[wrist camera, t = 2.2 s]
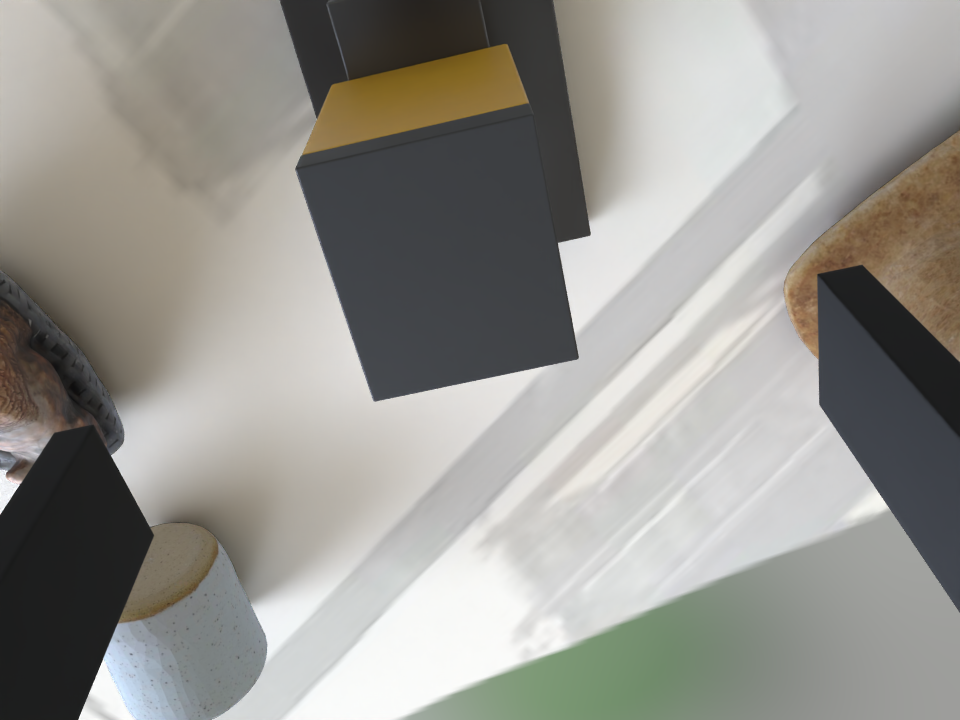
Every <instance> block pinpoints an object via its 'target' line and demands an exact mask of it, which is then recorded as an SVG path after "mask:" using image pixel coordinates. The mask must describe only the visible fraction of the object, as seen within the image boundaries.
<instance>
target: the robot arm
mask: <svg viewBox="0 0 960 720" xmlns="http://www.w3.org/2000/svg"><path fill="white" fill-rule="evenodd" d="M817 294H818V351H819V405H820V406H821V408H822V409H823V411H824V412H825V414H826V415H827V416H828V418H829V419H830V421H831V422H832V424H833V425H834V427H835V428H836V430H837V431H838V433H839V434H840V436H841V437H842V439H843V440H844V442H845V443H846V445H847V446H848V448H849V449H850V451H851V452H852V454H853V455H854V456H855V458H856V459H857V461H858V462H859V464H860V465H861V467H862V468H863V470H864V471H865V473H866V474H867V476H868V477H869V479H870V480H871V482H872V483H873V485H874V486H875V488H876V489H877V491H878V492H879V494H880V495H881V496H882V498H883V499H884V501H885V502H886V504H887V505H888V507H889V508H890V510H891V511H892V513H893V514H894V516H895V517H896V519H897V520H898V521H899V523H900V524H901V526H902V527H903V529H904V531H905V532H906V534H907V535H908V536H909V538H910V539H911V541H912V542H913V544H914V545H915V547H916V548H917V550H918V551H919V553H920V554H921V556H922V557H923V559H924V560H925V562H926V563H927V565H928V566H929V568H930V569H931V571H932V572H933V573H934V575H935V576H936V578H937V579H938V581H939V582H940V583H941V585H942V587H943V588H944V590H945V591H946V593H947V594H948V596H949V597H950V599H951V600H952V602H953V603H954V605H955V606H956V608H957V609H958V610H959V612H960V362H959V361H958V360H957V359H956V358H955V357H954V356H953V355H952V354H951V353H950V352H949V351H948V350H947V349H946V348H945V347H944V346H943V345H942V344H941V343H940V342H939V341H938V340H937V339H936V338H935V337H934V336H933V335H932V334H931V333H930V332H929V331H928V330H927V329H926V328H925V327H924V326H923V325H922V324H921V323H920V322H919V321H918V320H917V319H916V318H915V317H914V316H913V315H912V314H911V313H910V312H909V311H908V310H907V309H906V308H905V307H904V306H903V305H902V304H901V303H900V302H899V301H898V300H897V299H896V298H895V297H894V296H893V295H892V294H891V293H890V292H889V291H888V290H887V289H886V288H885V287H884V286H883V285H882V284H881V283H880V282H879V281H878V280H877V279H876V278H875V277H874V276H873V275H872V274H871V273H870V272H869V271H868V270H867V269H866V268H865V267H864V266H863V265H858V266H853V267H849V268H844V269H839V270H834V271H829V272H824V273H820V274H817ZM153 537H154V534H153V532H152V530H151V528H150V527H149V525H148V523H147V521H146V519H145V517H144V516H143V514H142V512H141V510H140V508H139V507H138V505H137V503H136V501H135V499H134V497H133V496H132V494H131V492H130V490H129V488H128V486H127V485H126V483H125V481H124V479H123V477H122V475H121V474H120V472H119V470H118V468H117V466H116V464H115V463H114V461H113V459H112V457H111V455H110V453H109V452H108V450H107V448H106V446H105V444H104V442H103V441H102V439H101V437H100V435H99V433H98V431H97V430H96V428H95V426H94V424H93V425H89V426H84V427H79V428H74V429H69V430H64V431H60V432H55V433H54V434H53V435H52V437H51V438H50V440H49V441H48V443H47V444H46V446H45V447H44V449H43V451H42V452H41V454H40V455H39V457H38V458H37V460H36V461H35V463H34V464H33V466H32V467H31V469H30V470H29V472H28V473H27V475H26V476H25V478H24V480H23V481H22V483H21V484H20V486H19V487H18V489H17V490H16V492H15V493H14V495H13V496H12V498H11V499H10V501H9V502H8V504H7V505H6V507H5V508H4V510H3V512H2V513H1V515H0V720H78V719H79V716H80V714H81V711H82V709H83V706H84V704H85V702H86V699H87V697H88V694H89V692H90V690H91V687H92V685H93V682H94V680H95V677H96V675H97V673H98V670H99V668H100V665H101V663H102V661H103V658H104V656H105V653H106V651H107V648H108V646H109V644H110V641H111V639H112V636H113V634H114V632H115V629H116V627H117V624H118V622H119V619H120V617H121V615H122V612H123V610H124V607H125V605H126V603H127V600H128V598H129V595H130V593H131V590H132V588H133V586H134V583H135V581H136V578H137V576H138V573H139V571H140V569H141V566H142V564H143V561H144V559H145V557H146V554H147V552H148V549H149V547H150V544H151V542H152V540H153Z"/></svg>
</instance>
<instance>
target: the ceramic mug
mask: <svg viewBox="0 0 960 720" xmlns="http://www.w3.org/2000/svg"><path fill="white" fill-rule="evenodd" d="M150 528H151V530H152V532H153V534H154V537H153V540H152V542H151V544H150V547H149V549H148V552H147V554H146V557H145V559H144V561H143V564H142V566H141V569H140V571H139V573H138V576H137V578H136V581H135V583H134V586H133V588H132V590H131V593H130V595H129V598H128V600H127V603H126V605H125V607H124V610H123V612H122V615H121V617H120V619H119V622H118V624H117V627H116V629H115V632H114V634H113V636H112V639H111V641H110V644H109V646H108V648H107V651H106V653H105V656H104V660H105V662H106V664H107V667H108V669H109V672H110V674H111V676H112V678H113V680H114V682H115V684H116V686H117V689H118V691H119V693H120V695H121V697H122V699H123V701H124V703H125V705H126V707H127V709H128V711H129V712H130V713H131V715H132V716H133V717H134V718H135V719H136V720H212V719H215V718H217V717H218V716H220V715H221V714H223V713H225V712H226V711H228V710H229V709H230V708H231V707H233V706H234V705H235V704H236V703H237V702H239V701H240V700H241V699H242V698H243V697H244V696H245V695H246V694H247V693H248V692H249V691H250V689H251V688H252V687H253V685H254V684H255V683H256V681H257V679H258V678H259V676H260V674H261V672H262V669H263V667H264V663H265V660H266V655H267V641H266V636H265V633H264V631H263V629H262V627H261V625H260V623H259V621H258V619H257V617H256V615H255V613H254V610H253V608H252V606H251V604H250V602H249V599H248V597H247V595H246V593H245V591H244V589H243V587H242V585H241V583H240V581H239V579H238V577H237V575H236V572H235V570H234V567H233V565H232V562H231V560H230V559H229V557H228V555H227V553H226V551H225V549H224V548H223V547H222V546H221V544H220V543H219V542H218V540H217V539H216V538H215V536H214V535H212V534H211V533H210V532H209V531H208V530H207V529H205V528H203V527H201V526H198V525H194V524H190V523H167V524H160V525H157V526H153V527H150Z"/></svg>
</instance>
